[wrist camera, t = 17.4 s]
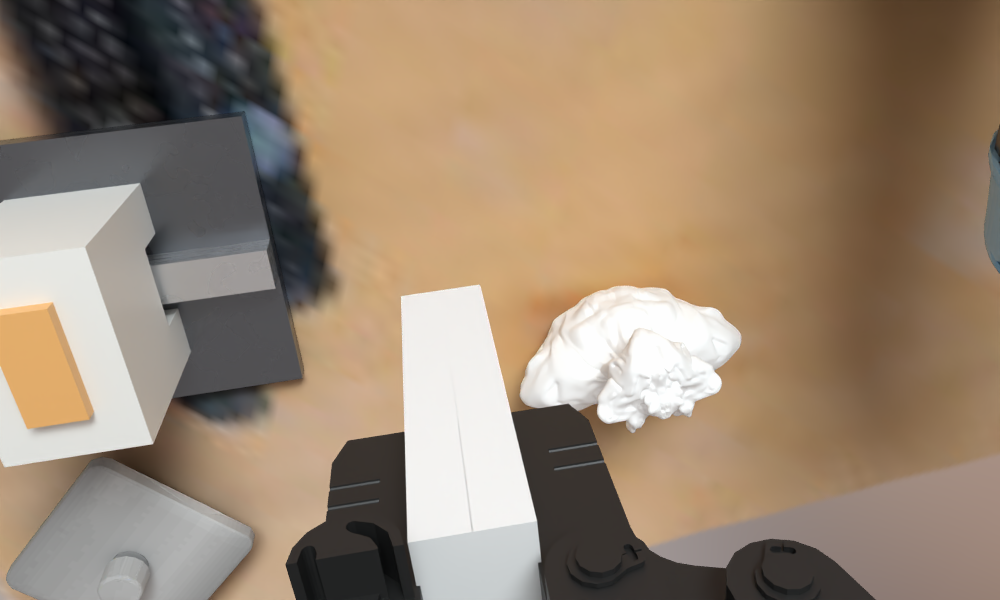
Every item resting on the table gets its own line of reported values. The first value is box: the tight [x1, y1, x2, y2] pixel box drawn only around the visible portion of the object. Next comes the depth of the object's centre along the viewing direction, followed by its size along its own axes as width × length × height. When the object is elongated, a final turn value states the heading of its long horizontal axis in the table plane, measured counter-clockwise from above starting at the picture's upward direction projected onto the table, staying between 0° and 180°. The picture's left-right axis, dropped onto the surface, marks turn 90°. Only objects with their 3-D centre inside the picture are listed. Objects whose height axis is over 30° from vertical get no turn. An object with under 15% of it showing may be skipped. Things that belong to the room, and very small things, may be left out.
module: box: [0, 183, 191, 467], centre depth 34 cm, size 6×9×9 cm, turn 5°
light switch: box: [6, 457, 255, 600], centre depth 44 cm, size 10×10×5 cm
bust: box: [520, 286, 741, 433], centre depth 40 cm, size 12×8×11 cm
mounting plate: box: [0, 111, 304, 398], centre depth 38 cm, size 16×14×2 cm
